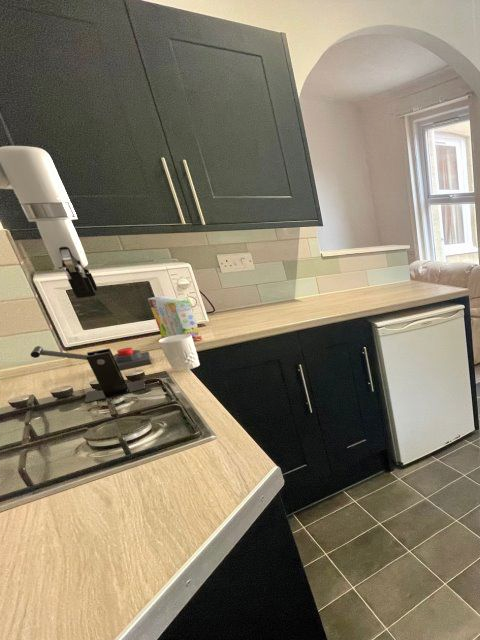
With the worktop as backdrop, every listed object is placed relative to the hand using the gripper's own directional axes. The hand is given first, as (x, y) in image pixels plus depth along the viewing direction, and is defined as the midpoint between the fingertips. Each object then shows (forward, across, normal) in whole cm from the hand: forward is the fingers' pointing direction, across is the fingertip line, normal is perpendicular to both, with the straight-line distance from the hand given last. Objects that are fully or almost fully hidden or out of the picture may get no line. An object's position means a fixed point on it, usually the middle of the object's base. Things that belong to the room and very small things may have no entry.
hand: (88, 293), depth 96 cm
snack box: (+28, -62, +14) cm, 69 cm away
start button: (+24, -37, -1) cm, 44 cm away
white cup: (+28, -18, +12) cm, 35 cm away
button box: (+27, -37, -1) cm, 46 cm away
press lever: (+16, -10, -9) cm, 21 cm away
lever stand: (+27, -10, -4) cm, 29 cm away
